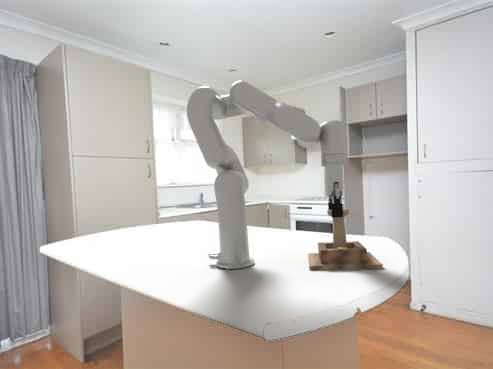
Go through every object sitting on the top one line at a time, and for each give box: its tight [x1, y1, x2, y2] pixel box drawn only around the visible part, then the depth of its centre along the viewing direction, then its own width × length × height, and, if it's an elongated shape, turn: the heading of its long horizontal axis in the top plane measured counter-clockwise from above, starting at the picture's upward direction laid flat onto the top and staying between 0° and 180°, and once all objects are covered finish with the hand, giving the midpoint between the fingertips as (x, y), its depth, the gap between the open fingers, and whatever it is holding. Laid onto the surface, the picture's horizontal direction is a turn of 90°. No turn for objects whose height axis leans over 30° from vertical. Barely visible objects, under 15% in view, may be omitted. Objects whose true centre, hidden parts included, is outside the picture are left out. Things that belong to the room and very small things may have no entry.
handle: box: [326, 209, 350, 249], centre depth 90 cm, size 5×6×15 cm
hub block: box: [307, 240, 384, 271], centre depth 90 cm, size 20×16×6 cm
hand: (335, 215), depth 90 cm, fingers open, 9 cm apart
